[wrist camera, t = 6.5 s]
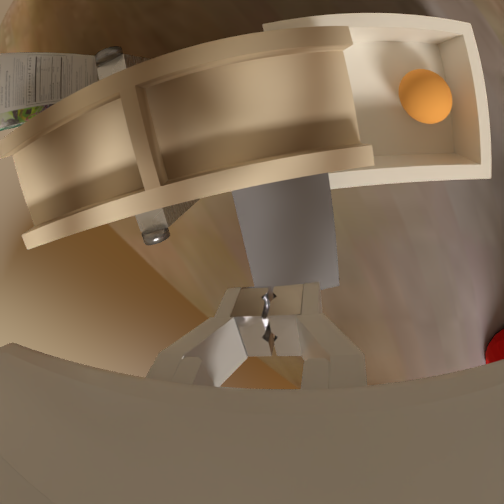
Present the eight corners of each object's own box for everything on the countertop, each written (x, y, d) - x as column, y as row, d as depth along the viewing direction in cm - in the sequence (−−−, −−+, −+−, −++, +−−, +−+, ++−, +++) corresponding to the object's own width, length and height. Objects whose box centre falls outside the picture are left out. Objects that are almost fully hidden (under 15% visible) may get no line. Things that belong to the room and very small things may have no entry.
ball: (399, 65, 13) (455, 67, 11) (389, 72, 16) (437, 72, 15) (409, 126, 15) (464, 126, 13) (398, 122, 18) (445, 122, 16)
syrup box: (62, 118, 23) (-53, 153, 10) (61, 67, 20) (-55, 82, 8) (99, 108, 22) (-32, 140, 9) (99, 52, 19) (-31, 54, 7)
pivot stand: (150, 75, 20) (69, 71, 11) (203, 55, 19) (136, 31, 10) (181, 198, 25) (119, 249, 16) (234, 188, 24) (189, 239, 15)
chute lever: (111, 285, 24) (76, 341, 17) (57, 131, 17) (-6, 145, 11) (341, 240, 22) (378, 291, 16) (312, 56, 16) (348, 25, 9)
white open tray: (272, 41, 17) (262, 24, 13) (442, 35, 14) (470, 23, 9) (300, 175, 22) (298, 192, 18) (460, 163, 18) (491, 178, 14)
